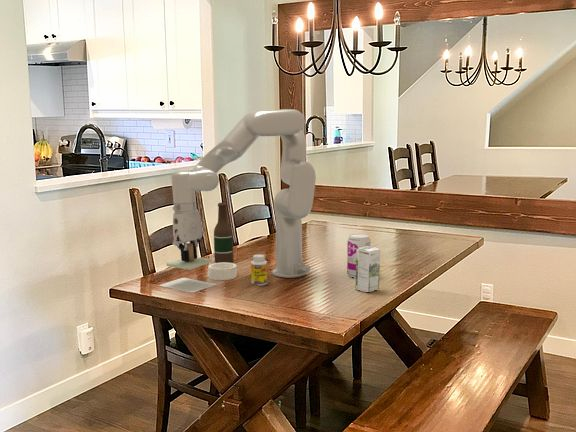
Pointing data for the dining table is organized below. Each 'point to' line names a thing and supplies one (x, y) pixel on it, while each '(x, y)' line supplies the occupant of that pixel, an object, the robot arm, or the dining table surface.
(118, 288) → the dining table surface
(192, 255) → the lid
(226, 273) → the bowl
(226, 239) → the beer bottle
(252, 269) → the supplement bottle
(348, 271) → the supplement can
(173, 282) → the mat
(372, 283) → the syrup box
